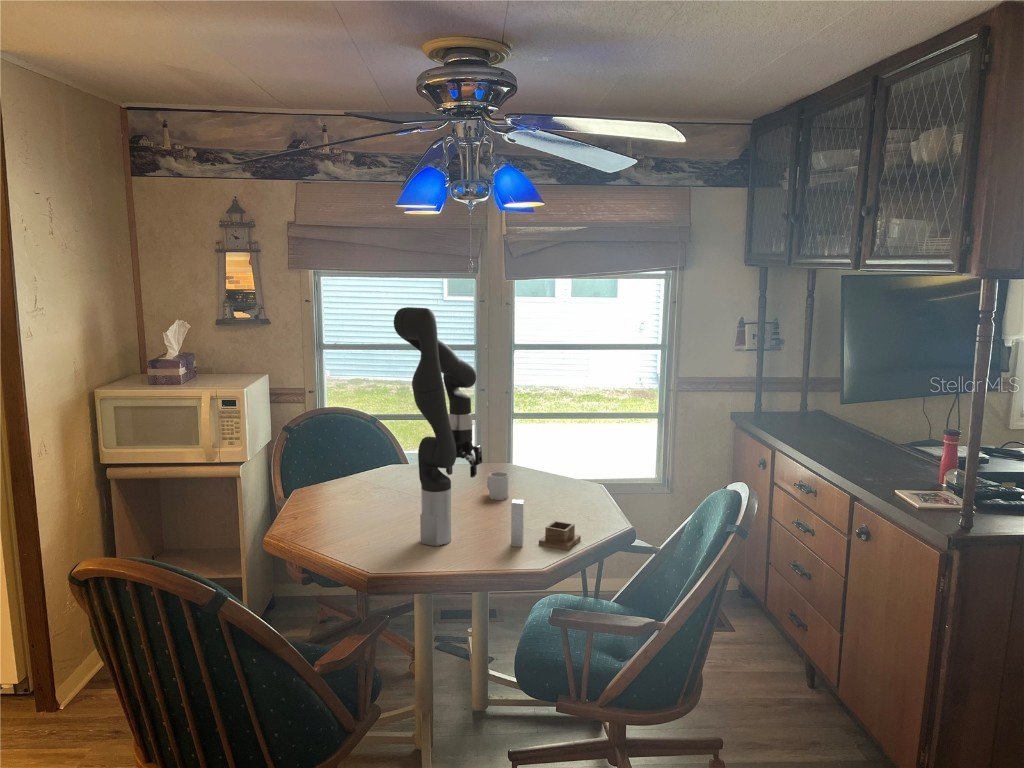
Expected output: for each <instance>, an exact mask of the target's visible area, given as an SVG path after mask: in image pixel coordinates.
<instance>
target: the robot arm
mask: <svg viewBox="0 0 1024 768" xmlns="http://www.w3.org/2000/svg"><path fill="white" fill-rule="evenodd" d="M395 312H396V313H395V314H394V318H393V327H394V331H395V332H396V334H397V335H398V336H399V338H401V339H403V340H404V341H406V342H407V343H408V344H410V345H411V346H413V348H415V349H416V350H417V351H419V352H420V359H419V362H418V365H417V367H416V369H415V371H414V373H413V376H412V382H411V387H412V388H411V389H412V392H413V399H414V402H415V405H416V407H417V409H418V410H419V412H420V413H421V414H422V416H423V417H424V419H425V420H426V422H428V424H429V425H430V426H431V428H432V431H433V434H434V436H425V437H423V438H422V440H420V443H419V444H418V445H419V446H418V450H417V453H418V454H417V459H418V461H417V462H418V463H417V464H418V474H419V475H418V476H419V482H420V485H421V488H420V489H421V492H420V493H421V514H420V515H419V517H420V519H419V520H420V526H419V527H420V529H419V531H420V544H422V545H428V546H433V547H439V546H444V545H447V544H450V543H451V541H452V481H451V478H450V477H449V476H451V475H453V466H454V465H455V463H456V461H457V459H465V460H466V461H467V462H468V463H469V466H470V467H469V468H470V469H469V470H470V471H469V472H470V473H469V474H470V475H469V476H470V478H475V477H476V475H477V473H478V472H477V467H478V466H479V465H481V464H482V463H483V453H482V451H483V450H482V445H473V416H472V399H471V396H469V395H468V394H466V393H462V392H461V390H460V388H461V389H462V388H463V389H469V388H471V387H473V386H474V385H475V384H476V382H477V373H476V370H475V369H474V367H472V365H471V364H469V362H467V361H465V360H463V359H462V358H460V357H458V356H457V355H456V353H455V352H454V350H453V349H452V348H451V347H449V346H448V345H447V344H446V343H444V342H443V341H441V339H440V340H439V339H438V327H437V326H438V325H437V320H436V316H435V314H434V312H433V311H432V309H430V308H427V307H414V306H413V307H410V306H407V307H402V308H399V309H398V310H397V311H395ZM442 374H443V375H442ZM445 391H446V392H445ZM446 395H447V399H448V402H449V407H448V406H447V402H446V401H447V400H446ZM447 407H448V408H449V412H448V408H447ZM473 453H474V454H473ZM440 469H445V472H446V475H445V474H444V473H443V472H442V471H441V470H440ZM443 544H444V545H443Z"/></svg>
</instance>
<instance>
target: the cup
mask: <svg viewBox="0 0 1024 768" xmlns="http://www.w3.org/2000/svg"><path fill="white" fill-rule="evenodd" d="M509 476H510V475H509V473H508V472H504V471H494V472H490V473H489V475H488V477H487V479H486V487H487V490H488V495H489V499H491V500H493V499H495V500H494V501H504V499H505V500H507V499H508V498H509V478H510V477H509Z"/></svg>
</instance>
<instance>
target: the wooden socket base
mask: <svg viewBox="0 0 1024 768" xmlns="http://www.w3.org/2000/svg"><path fill="white" fill-rule="evenodd" d="M544 529H545V530H544V531H545V533H544V534H545V535H544V536H542V538H540V539H538V545H539V546H542V545H543V547H547V548H548V547H549V548H554V549H558V550H565V551H569V550H571V549H572V548H573V547H575V545H577V544H578V543H580V542H581V540H582V539H581V538H582V536H581V535H579V534H576V533H575V532H576V531H575V530H576V527H575V523H572V522H571V523H569V522H564V521H557V520H553V521H552V522H551V523H549V524H548V525H547V526H546V527H545V528H544Z"/></svg>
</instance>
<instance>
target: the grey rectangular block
mask: <svg viewBox="0 0 1024 768" xmlns="http://www.w3.org/2000/svg"><path fill="white" fill-rule="evenodd" d="M510 507H511V508H510V510H511V511H510V513H511V515H510V516H511V517H510V520H511V521H510V547H511V546H518V547H517V548H523V546H524V544H523V543H525V542H524V541H525V539H524V537H525V536H524V535H525V532H524V531H525V500H524V499H512V501H511V505H510Z"/></svg>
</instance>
